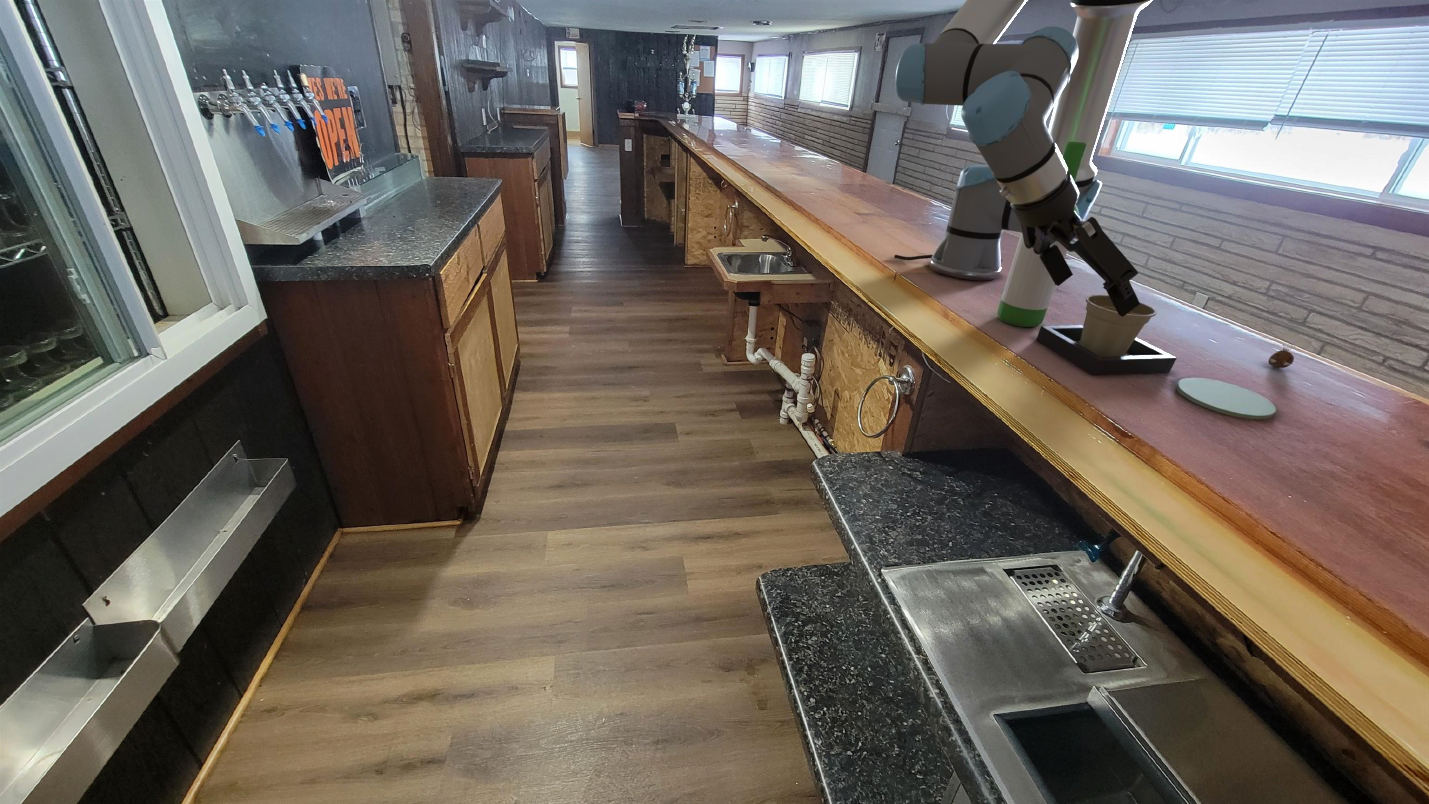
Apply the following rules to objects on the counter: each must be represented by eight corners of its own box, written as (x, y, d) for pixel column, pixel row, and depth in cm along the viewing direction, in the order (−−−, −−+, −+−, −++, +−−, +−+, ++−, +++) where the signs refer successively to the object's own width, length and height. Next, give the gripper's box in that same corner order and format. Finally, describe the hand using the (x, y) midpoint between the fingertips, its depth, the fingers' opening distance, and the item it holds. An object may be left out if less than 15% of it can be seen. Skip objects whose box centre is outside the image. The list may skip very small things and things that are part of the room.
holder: (1093, 375, 85) (1099, 360, 83) (1036, 339, 96) (1040, 325, 95) (1169, 372, 87) (1177, 357, 85) (1105, 337, 98) (1110, 324, 97)
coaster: (1174, 400, 79) (1176, 396, 78) (1177, 374, 86) (1179, 370, 86) (1276, 428, 73) (1279, 424, 73) (1271, 397, 81) (1273, 394, 80)
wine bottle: (994, 323, 102) (1050, 142, 87) (996, 310, 108) (1048, 139, 93) (1042, 332, 99) (1108, 146, 84) (1041, 318, 105) (1102, 143, 90)
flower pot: (1114, 345, 95) (1135, 296, 91) (1146, 370, 87) (1170, 317, 83) (1057, 341, 96) (1075, 292, 92) (1083, 365, 88) (1104, 312, 83)
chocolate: (1272, 370, 89) (1286, 347, 87) (1262, 364, 91) (1275, 341, 89) (1292, 372, 89) (1306, 348, 87) (1281, 365, 91) (1295, 343, 89)
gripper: (965, 191, 87) (1022, 284, 97) (1078, 228, 66) (1137, 343, 76) (1006, 155, 85) (1060, 254, 95) (1136, 181, 64) (1189, 305, 74)
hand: (1094, 293), depth 85 cm, fingers open, 13 cm apart
